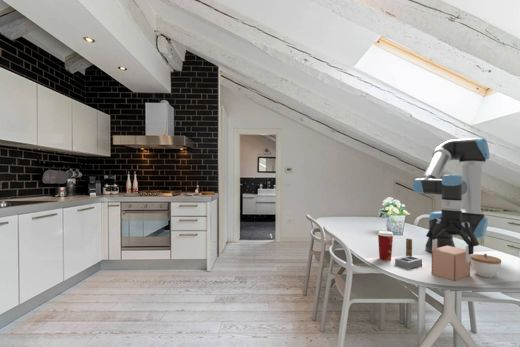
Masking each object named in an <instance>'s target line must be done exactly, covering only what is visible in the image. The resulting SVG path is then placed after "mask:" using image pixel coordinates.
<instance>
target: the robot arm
mask: <svg viewBox="0 0 520 347" xmlns="http://www.w3.org/2000/svg"><path fill="white" fill-rule="evenodd" d="M489 159H490V149H489V144H488V141H487V139H486V138H484V137H471V138H458V139H456V138H455V139H449V140H447V141H444V142H443V143H441V144H440V145H438V146H437V147H436V148H434V150H433V152H432V154H431V160H430V162H429V164H428V165H427V167H426V170H425V172H424V173H423V175H422V177H421V178H415V179H414V180H413V183H412V189H413V192H414V193H416V194H422V195H441V211H432V212H430V213H429V215H428V216H429V217H428V231H427V233H426V236H425V237H426V238H427V241H426V243H425V246H424V247H425V248H424V249H425V251H426V252H429V253H432V249H435V248H439V247H443V246H452V247H456V244H455V242H454V236H458V237H461V238H462V240H463V241H464V243H465V244H466V246H465V249H466V262H470V263H471V255H473V254H474V247H478V246H480V242H479V240H481V239H483V238H484V237H485V235H486V233H487V228H488V225H489V224H488V222H489V218H488V217H486V216H485V213H484V212H483V211H482V175H483V174H482V173H483V172H482V170H483V169H482V168H483V166H484V165H485V164H487V163H486V161H487V160H489ZM450 161H459V164H460V165H461V166H462V168H461V172H462V173H461V174H444V175H442V174H443V173H444V170H445V168H446V166H447V164H448V163H449V162H450ZM441 176H442V177H441ZM478 239H479V240H478Z"/></svg>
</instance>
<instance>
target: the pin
mask: <svg viewBox="0 0 520 347" xmlns="http://www.w3.org/2000/svg"><path fill="white" fill-rule="evenodd" d="M405 240H406V241H405V256H412V257H413V239H412V238H408V237H407V238H405Z"/></svg>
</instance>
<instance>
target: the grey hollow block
mask: <svg viewBox="0 0 520 347" xmlns="http://www.w3.org/2000/svg"><path fill="white" fill-rule="evenodd" d="M394 265H395V266H397V265H398V266H397V267H400V266H401V267H400V268H405V269H408V270H410V269H411V270H412V269H413V268H417V267H418V268H419V267H422V266H423V258H419V257H415V256H413V255H412V256H406V255H405V256H401V257H397V258H395V259H394Z"/></svg>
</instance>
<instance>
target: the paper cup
mask: <svg viewBox="0 0 520 347" xmlns="http://www.w3.org/2000/svg"><path fill="white" fill-rule="evenodd" d="M377 236H378V237H377V238H378V256H379V260H382V261H387V260H389V261H391V260H392V255H393V239H394V233H393V232H392V231H387V230H379V231H378V233H377Z"/></svg>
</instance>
